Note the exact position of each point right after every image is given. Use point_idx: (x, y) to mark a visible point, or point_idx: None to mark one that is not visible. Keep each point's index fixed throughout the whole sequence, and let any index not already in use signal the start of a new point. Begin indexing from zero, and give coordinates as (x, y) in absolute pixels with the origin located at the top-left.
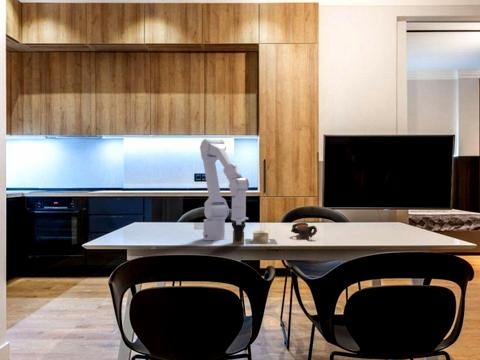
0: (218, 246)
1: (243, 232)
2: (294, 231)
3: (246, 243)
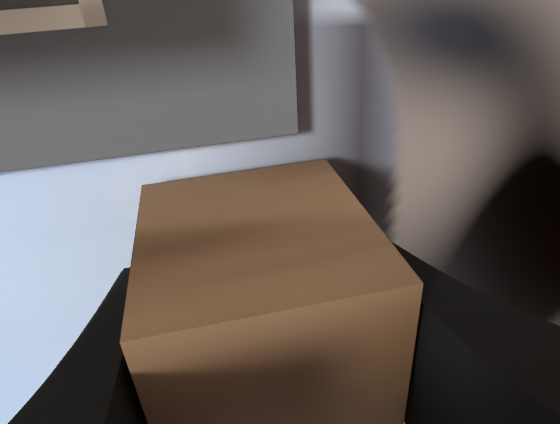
0: None
1: (420, 292)
2: None
3: (232, 130)
